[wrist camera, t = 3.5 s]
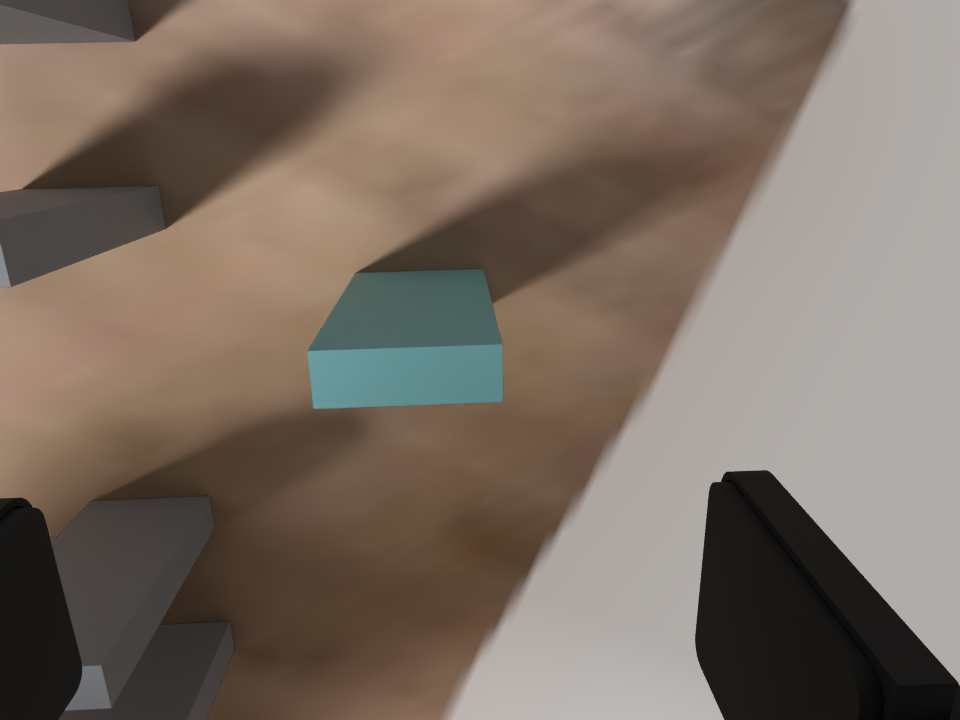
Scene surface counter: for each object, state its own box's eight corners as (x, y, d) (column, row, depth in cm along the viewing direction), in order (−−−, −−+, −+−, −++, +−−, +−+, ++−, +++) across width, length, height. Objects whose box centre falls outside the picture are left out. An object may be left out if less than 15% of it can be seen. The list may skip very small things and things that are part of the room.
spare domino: (484, 308, 28) (502, 401, 19) (358, 312, 28) (313, 409, 19) (483, 268, 28) (502, 344, 18) (355, 272, 28) (307, 351, 18)
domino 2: (214, 528, 31) (111, 708, 21) (98, 533, 31) (-58, 717, 21) (209, 496, 30) (101, 665, 21) (91, 501, 30) (-73, 673, 21)
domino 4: (165, 228, 27) (10, 287, 17) (30, 232, 26) (-201, 293, 17) (158, 185, 26) (-5, 220, 17) (21, 189, 26) (-224, 226, 16)
